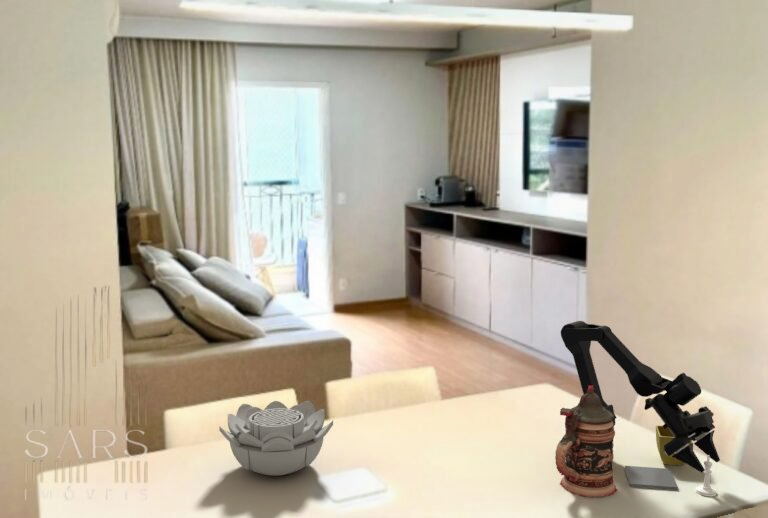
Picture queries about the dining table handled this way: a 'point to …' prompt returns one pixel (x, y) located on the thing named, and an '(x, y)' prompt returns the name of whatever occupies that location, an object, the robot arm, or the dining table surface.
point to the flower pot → (662, 439)
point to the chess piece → (706, 481)
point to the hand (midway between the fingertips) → (710, 466)
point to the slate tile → (650, 477)
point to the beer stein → (587, 448)
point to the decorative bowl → (276, 437)
